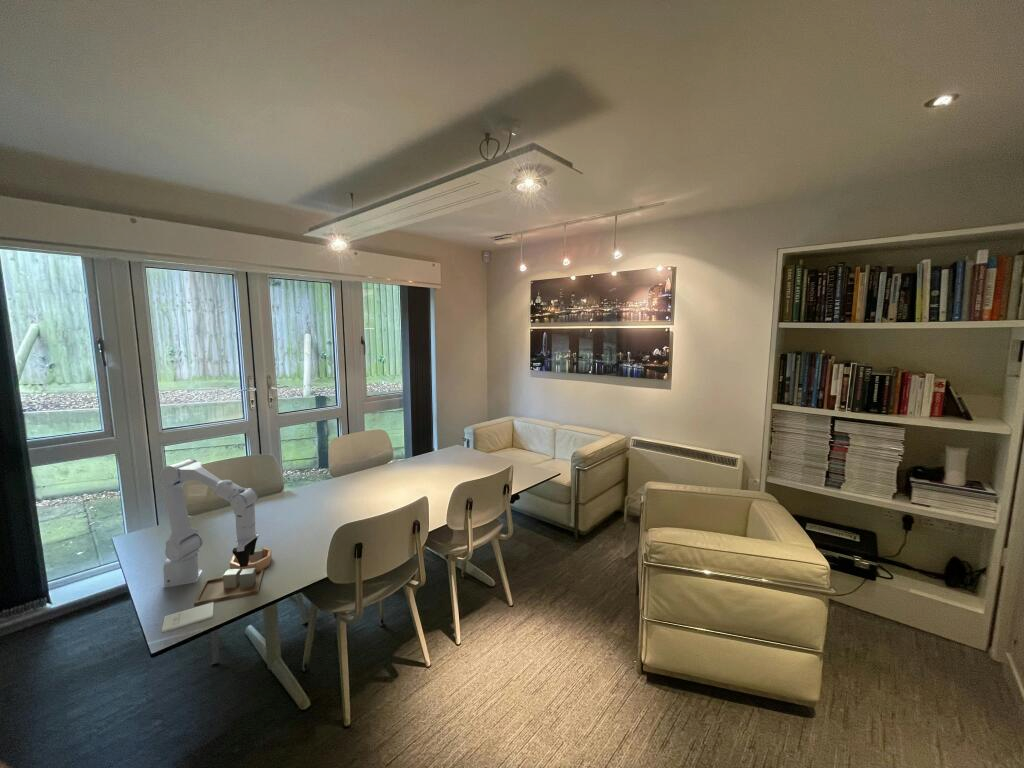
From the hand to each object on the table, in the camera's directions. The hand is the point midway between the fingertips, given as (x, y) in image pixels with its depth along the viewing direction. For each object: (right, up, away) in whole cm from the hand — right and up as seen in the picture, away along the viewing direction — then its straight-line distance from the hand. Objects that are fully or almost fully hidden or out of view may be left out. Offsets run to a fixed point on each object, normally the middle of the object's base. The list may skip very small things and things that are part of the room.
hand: (247, 560), depth 144 cm
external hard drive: (-8, -12, -16) cm, 22 cm away
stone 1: (-5, -9, 0) cm, 10 cm away
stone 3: (-6, -7, +15) cm, 18 cm away
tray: (-5, -9, -1) cm, 11 cm away
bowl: (-7, -8, +13) cm, 17 cm away
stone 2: (0, -9, +1) cm, 9 cm away
